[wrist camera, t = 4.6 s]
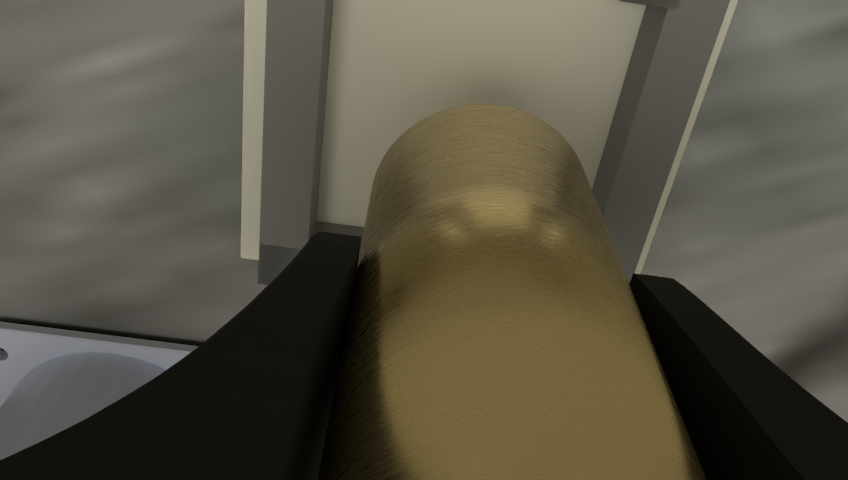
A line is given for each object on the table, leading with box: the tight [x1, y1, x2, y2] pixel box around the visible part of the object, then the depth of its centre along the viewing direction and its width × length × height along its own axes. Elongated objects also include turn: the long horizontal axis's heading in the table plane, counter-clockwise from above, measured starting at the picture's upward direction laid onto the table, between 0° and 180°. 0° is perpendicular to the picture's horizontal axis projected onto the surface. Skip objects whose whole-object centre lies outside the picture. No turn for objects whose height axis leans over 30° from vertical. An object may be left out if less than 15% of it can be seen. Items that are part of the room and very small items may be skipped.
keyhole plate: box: [241, 0, 738, 285], centre depth 16 cm, size 15×11×2 cm
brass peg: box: [318, 104, 706, 480], centre depth 10 cm, size 4×4×8 cm
